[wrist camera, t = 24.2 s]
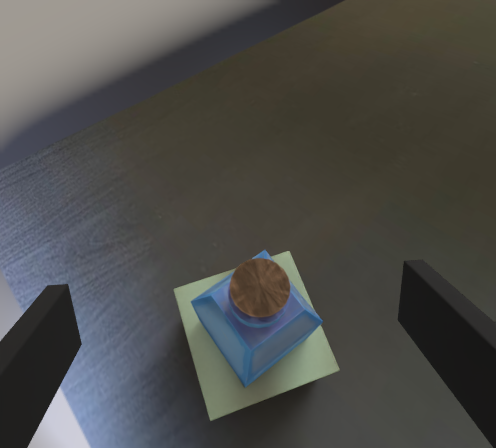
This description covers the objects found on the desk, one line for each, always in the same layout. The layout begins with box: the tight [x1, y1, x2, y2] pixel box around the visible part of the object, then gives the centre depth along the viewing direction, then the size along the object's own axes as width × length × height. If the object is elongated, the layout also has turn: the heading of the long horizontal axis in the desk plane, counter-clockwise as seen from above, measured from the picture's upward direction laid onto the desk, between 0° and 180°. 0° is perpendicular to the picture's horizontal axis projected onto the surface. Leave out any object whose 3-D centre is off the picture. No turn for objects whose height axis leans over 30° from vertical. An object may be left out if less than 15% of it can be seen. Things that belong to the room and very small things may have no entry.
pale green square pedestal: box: [174, 251, 340, 421], centre depth 35 cm, size 10×10×8 cm
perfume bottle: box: [190, 250, 323, 388], centre depth 26 cm, size 6×6×12 cm
